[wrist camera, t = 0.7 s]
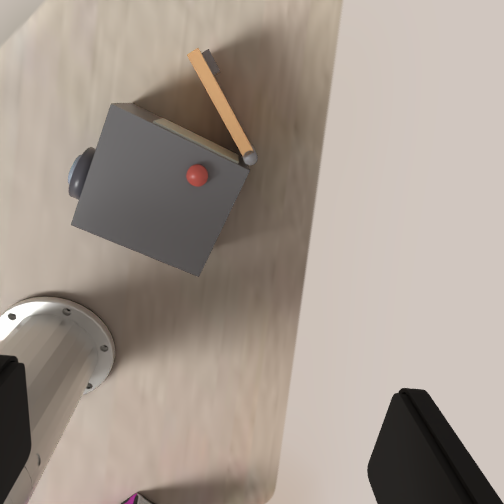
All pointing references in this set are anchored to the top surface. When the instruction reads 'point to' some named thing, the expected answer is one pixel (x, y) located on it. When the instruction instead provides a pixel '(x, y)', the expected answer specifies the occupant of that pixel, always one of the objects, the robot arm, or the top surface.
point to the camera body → (156, 187)
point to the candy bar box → (137, 500)
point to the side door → (221, 102)
